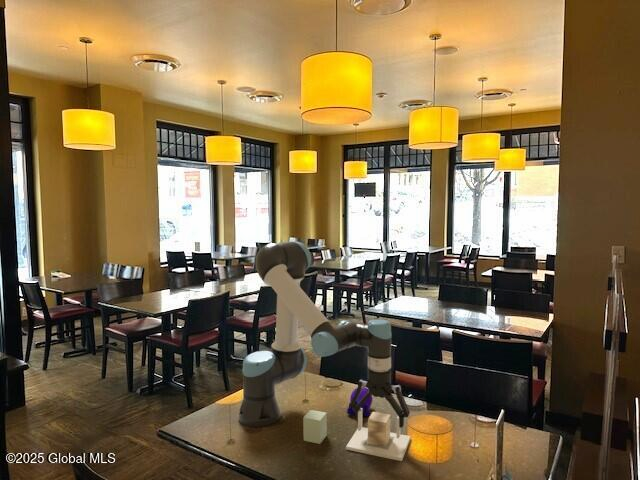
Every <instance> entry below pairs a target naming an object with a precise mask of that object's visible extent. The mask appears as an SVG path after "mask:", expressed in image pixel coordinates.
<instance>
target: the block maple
mask: <svg viewBox="0 0 640 480" xmlns="http://www.w3.org/2000/svg"><path fill="white" fill-rule="evenodd" d="M367 428H368V444H373V445H378V446H382V447H386V446H387V444H388V442H389V440H390V432H391V414H387V413H384V412H383V413H382V412H377V411H372V412H371V413H370V416H369V417H368V419H367Z"/></svg>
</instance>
